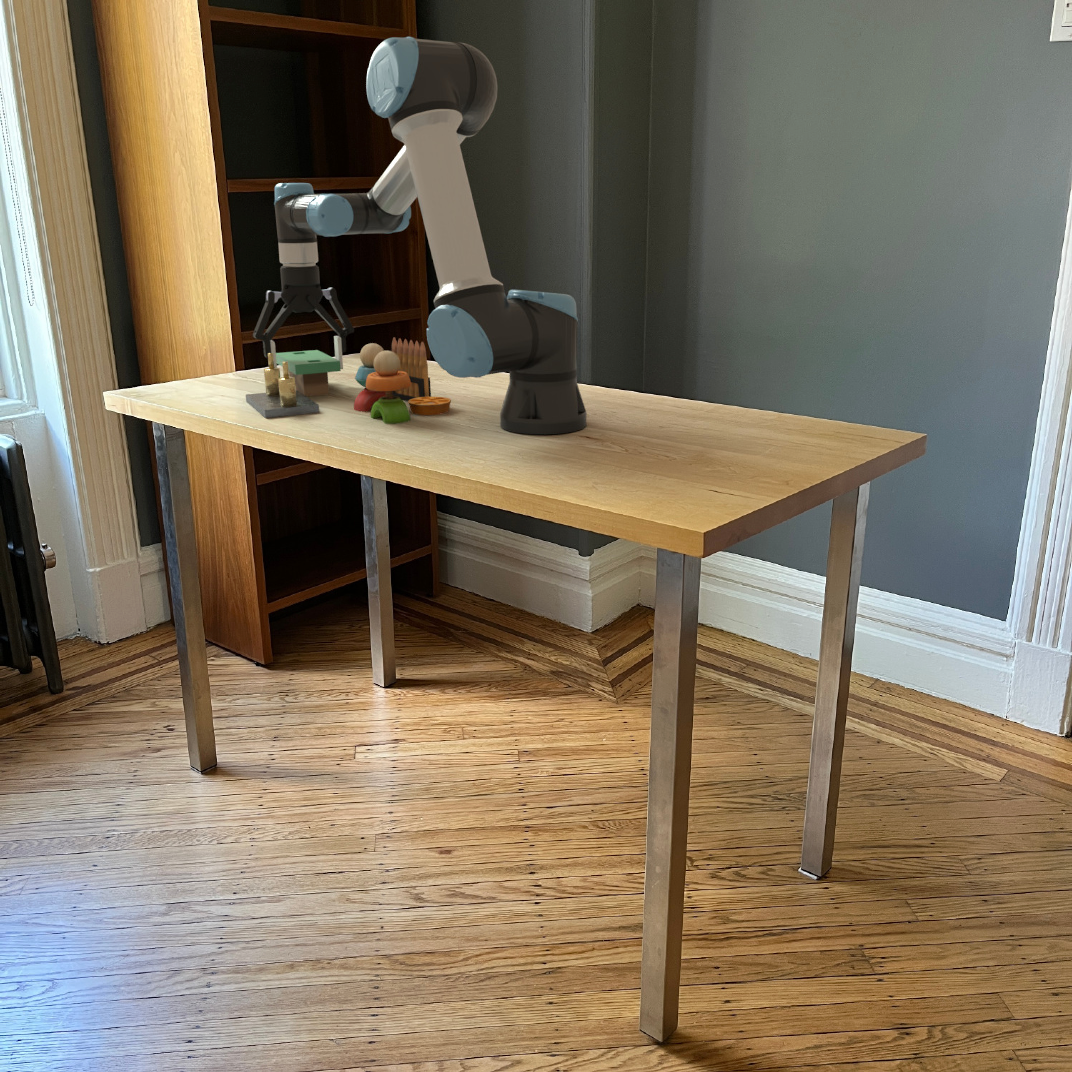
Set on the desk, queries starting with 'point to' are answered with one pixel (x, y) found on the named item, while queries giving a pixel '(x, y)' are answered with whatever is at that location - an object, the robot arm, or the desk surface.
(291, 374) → the stand
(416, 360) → the ammunition clip
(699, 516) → the desk surface
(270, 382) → the chassis
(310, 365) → the board
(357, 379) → the colourful wooden toy set
